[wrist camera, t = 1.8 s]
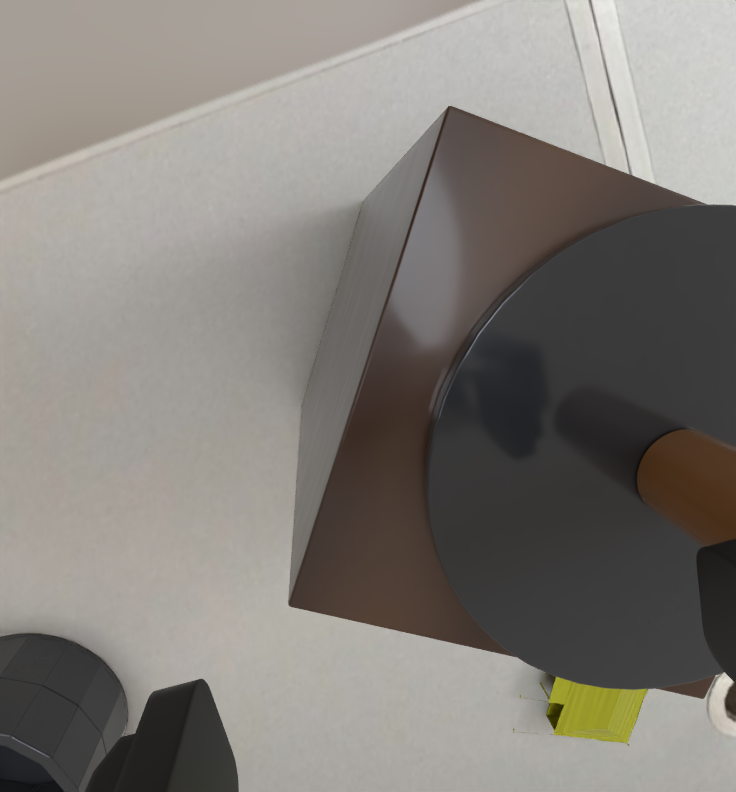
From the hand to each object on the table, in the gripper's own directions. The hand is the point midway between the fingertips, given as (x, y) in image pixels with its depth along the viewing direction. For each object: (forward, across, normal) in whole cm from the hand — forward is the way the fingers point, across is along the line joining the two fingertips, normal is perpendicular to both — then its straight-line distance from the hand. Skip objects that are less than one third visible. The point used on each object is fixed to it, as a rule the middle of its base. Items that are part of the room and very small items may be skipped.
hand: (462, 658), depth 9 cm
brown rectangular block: (+25, -5, -1) cm, 25 cm away
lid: (+5, -6, 0) cm, 8 cm away
